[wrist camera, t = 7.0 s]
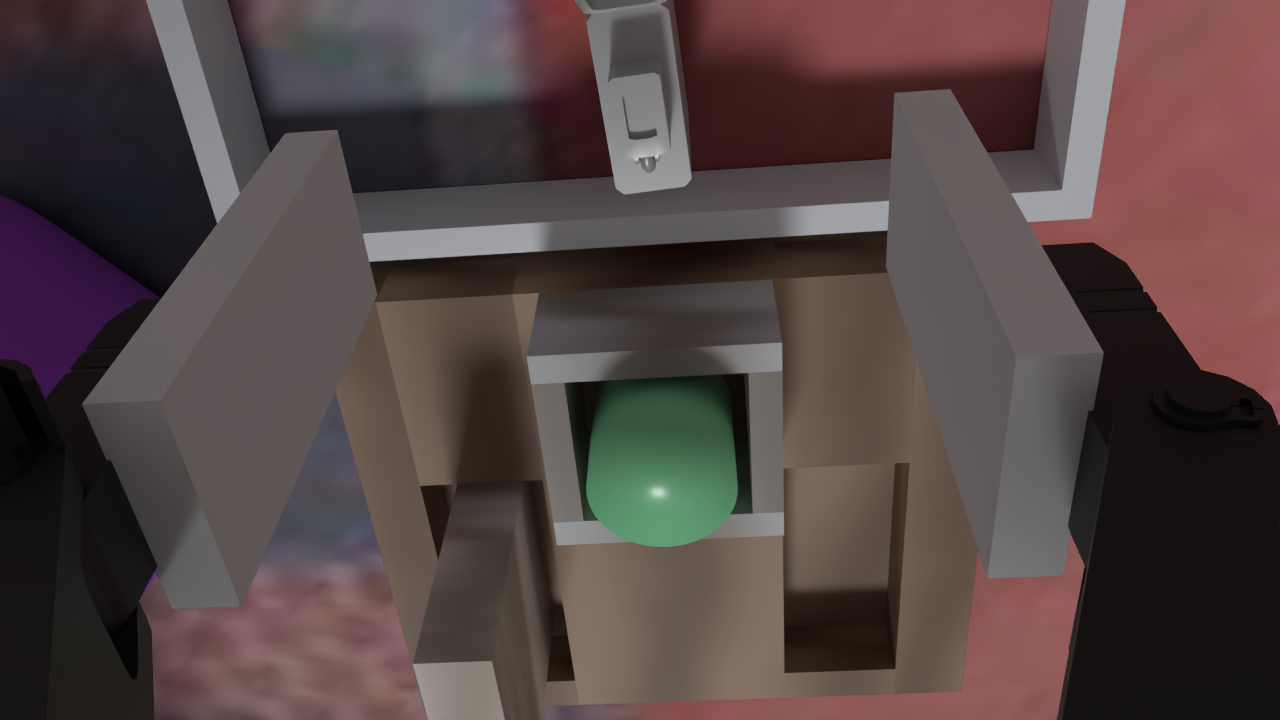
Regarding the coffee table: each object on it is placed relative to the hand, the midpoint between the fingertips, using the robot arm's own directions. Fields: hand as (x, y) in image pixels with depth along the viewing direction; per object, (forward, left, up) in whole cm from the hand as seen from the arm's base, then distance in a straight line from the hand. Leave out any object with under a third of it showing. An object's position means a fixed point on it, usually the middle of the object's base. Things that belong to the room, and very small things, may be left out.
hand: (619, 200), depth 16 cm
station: (0, -15, -13) cm, 20 cm away
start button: (0, -10, -9) cm, 14 cm away
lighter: (0, 0, -13) cm, 13 cm away
